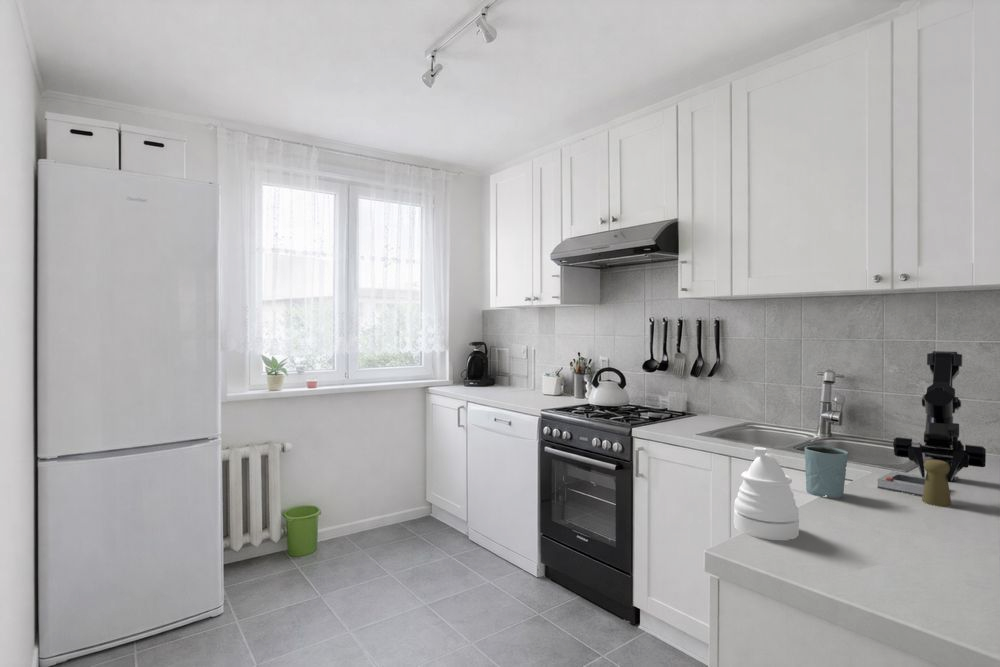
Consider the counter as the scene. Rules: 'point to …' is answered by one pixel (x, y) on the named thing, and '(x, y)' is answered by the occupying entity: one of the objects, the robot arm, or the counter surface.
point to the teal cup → (825, 471)
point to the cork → (936, 483)
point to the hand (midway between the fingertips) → (936, 478)
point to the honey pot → (766, 501)
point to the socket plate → (902, 483)
